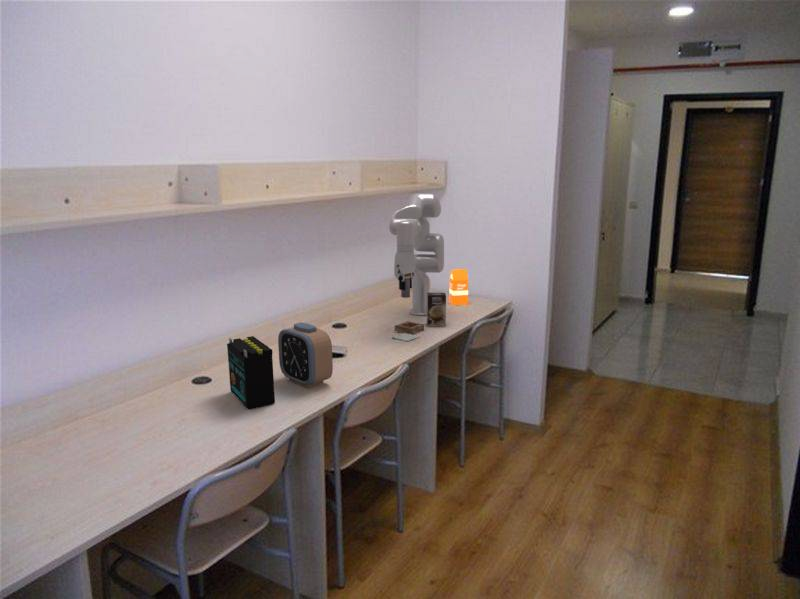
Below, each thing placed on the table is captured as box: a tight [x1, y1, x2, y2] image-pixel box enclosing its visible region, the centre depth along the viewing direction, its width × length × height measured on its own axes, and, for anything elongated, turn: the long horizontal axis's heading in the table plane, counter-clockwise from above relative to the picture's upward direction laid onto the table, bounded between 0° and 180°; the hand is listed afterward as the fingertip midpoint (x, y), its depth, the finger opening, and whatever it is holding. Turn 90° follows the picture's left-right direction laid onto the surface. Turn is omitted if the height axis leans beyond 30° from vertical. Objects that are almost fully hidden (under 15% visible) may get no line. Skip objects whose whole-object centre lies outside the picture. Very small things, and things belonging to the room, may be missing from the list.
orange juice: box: [448, 268, 469, 307], centre depth 344 cm, size 8×9×20 cm
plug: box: [400, 274, 411, 299], centre depth 276 cm, size 4×4×10 cm
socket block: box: [394, 320, 425, 335], centre depth 293 cm, size 10×10×3 cm
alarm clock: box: [277, 322, 334, 389], centre depth 225 cm, size 21×10×22 cm, turn 45°
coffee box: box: [426, 292, 447, 328], centre depth 301 cm, size 9×6×16 cm
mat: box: [391, 333, 420, 342], centre depth 282 cm, size 9×9×1 cm
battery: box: [226, 335, 276, 410], centre depth 211 cm, size 19×10×20 cm, turn 32°
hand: (405, 288), depth 277 cm, fingers closed on plug, 4 cm apart
